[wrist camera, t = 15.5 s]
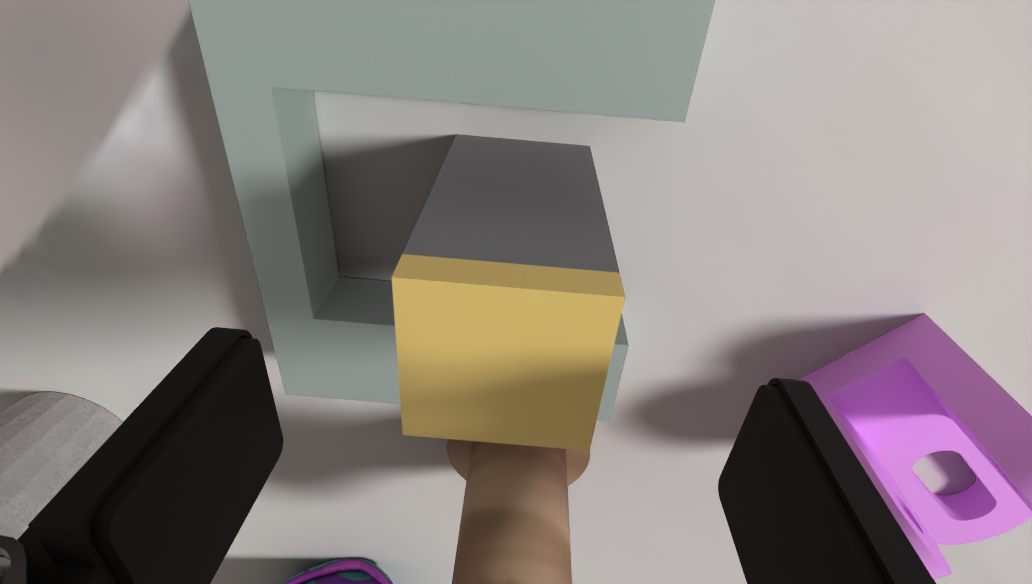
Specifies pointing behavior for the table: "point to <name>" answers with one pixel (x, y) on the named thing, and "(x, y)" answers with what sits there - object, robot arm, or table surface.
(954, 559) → the table surface
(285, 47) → the notched board
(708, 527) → the table surface
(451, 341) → the yellow and grey block
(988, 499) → the bracket
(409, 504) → the table surface
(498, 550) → the bobbin
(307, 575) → the pencil case
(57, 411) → the house plant
